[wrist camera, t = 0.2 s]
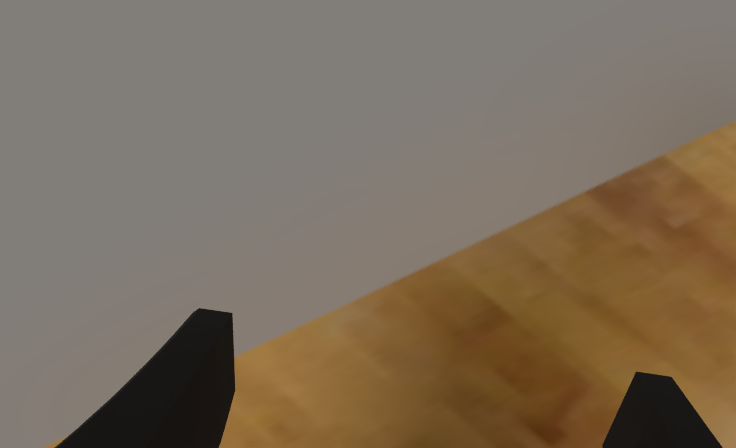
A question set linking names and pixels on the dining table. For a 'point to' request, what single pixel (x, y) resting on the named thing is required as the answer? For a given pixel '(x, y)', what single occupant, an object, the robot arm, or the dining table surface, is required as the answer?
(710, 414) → the dining table surface
